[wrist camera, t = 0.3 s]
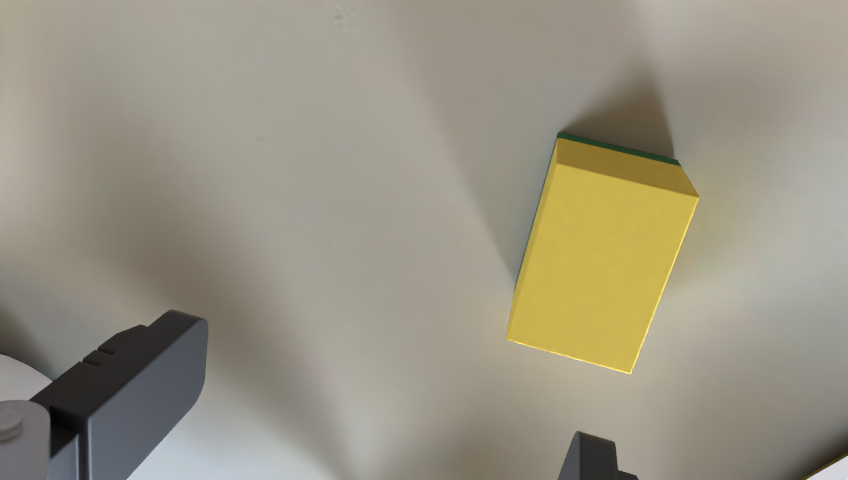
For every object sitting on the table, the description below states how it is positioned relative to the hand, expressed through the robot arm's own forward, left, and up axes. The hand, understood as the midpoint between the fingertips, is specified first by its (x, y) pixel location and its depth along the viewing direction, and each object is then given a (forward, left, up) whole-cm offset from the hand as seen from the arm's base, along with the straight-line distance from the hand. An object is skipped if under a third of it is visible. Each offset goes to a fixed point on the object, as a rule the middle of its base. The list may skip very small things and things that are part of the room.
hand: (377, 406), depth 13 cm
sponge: (+1, +5, -17) cm, 17 cm away
